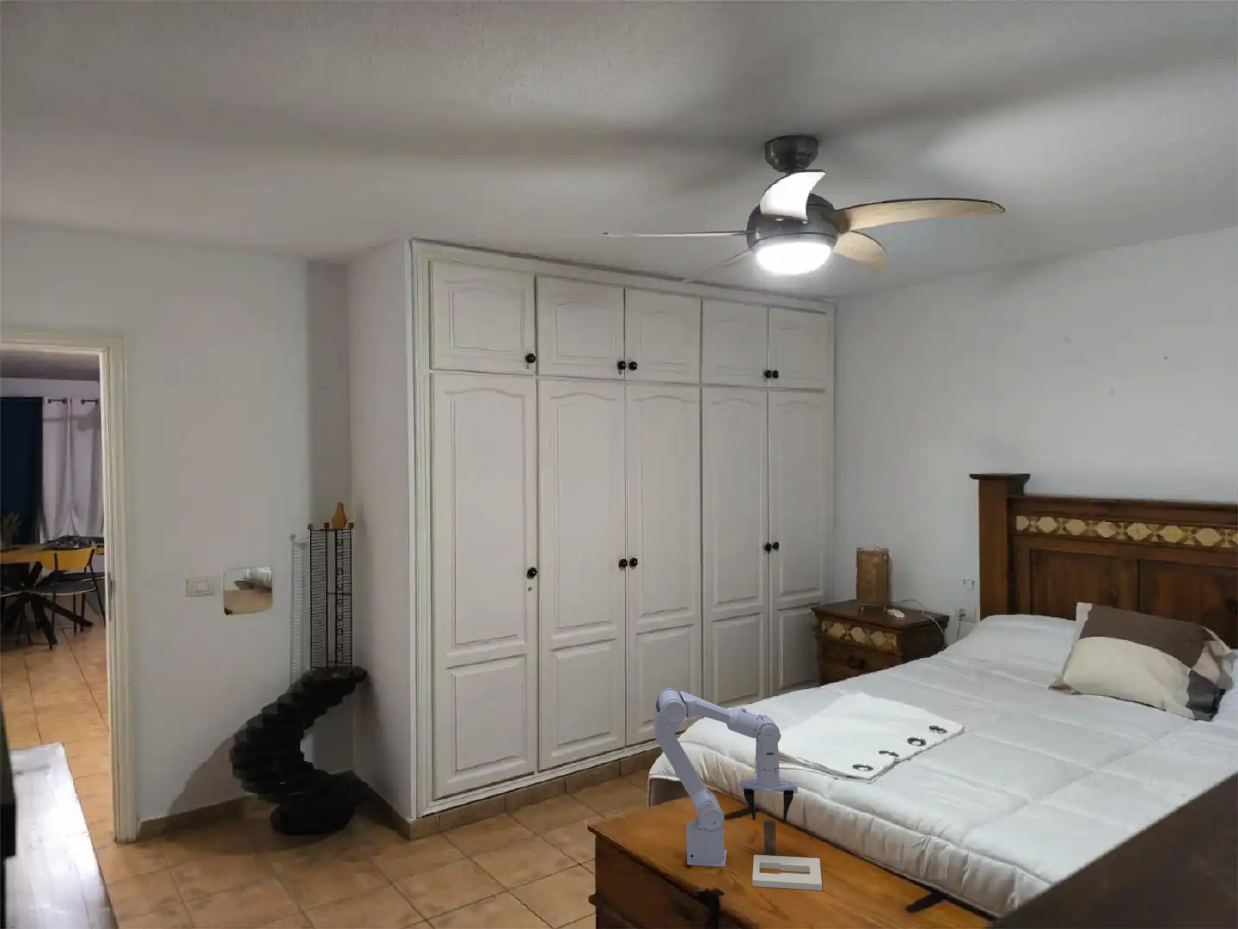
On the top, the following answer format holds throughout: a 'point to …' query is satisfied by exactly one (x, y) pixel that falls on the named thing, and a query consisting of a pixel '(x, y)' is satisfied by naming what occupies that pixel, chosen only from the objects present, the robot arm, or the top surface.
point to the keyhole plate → (787, 879)
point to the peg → (770, 838)
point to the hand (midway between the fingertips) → (769, 819)
